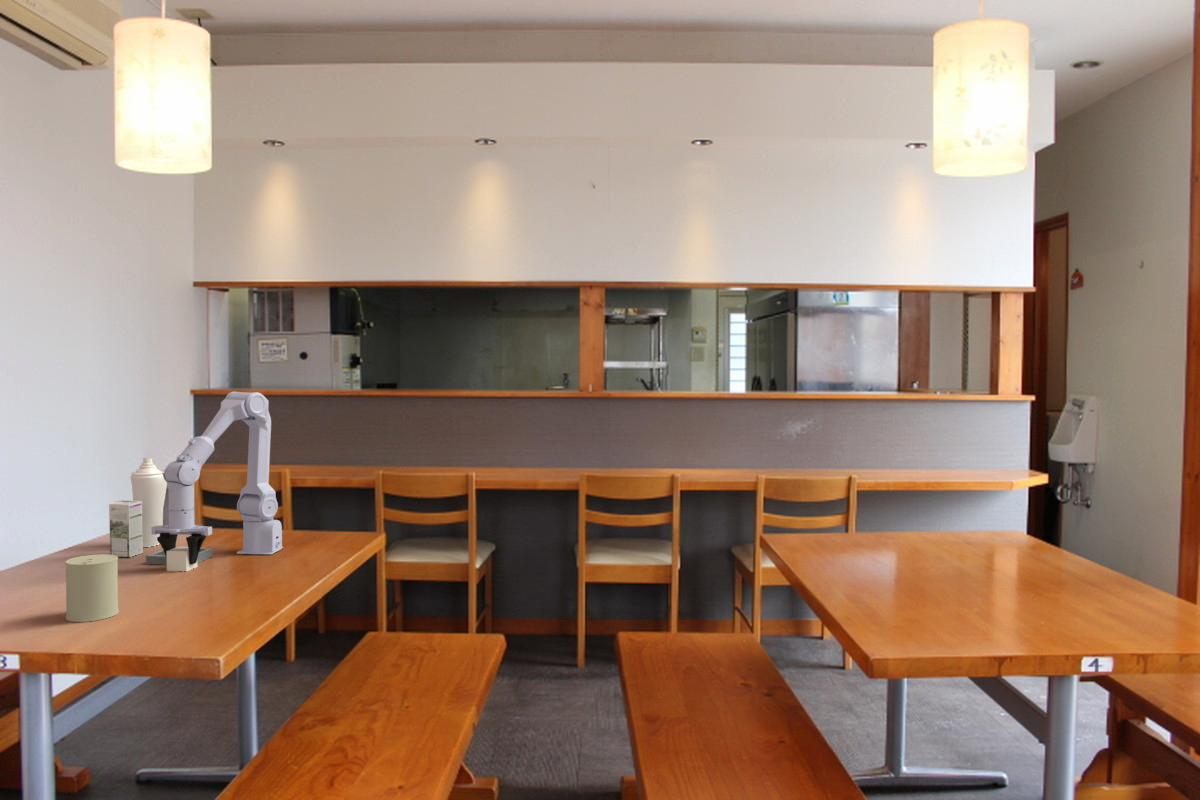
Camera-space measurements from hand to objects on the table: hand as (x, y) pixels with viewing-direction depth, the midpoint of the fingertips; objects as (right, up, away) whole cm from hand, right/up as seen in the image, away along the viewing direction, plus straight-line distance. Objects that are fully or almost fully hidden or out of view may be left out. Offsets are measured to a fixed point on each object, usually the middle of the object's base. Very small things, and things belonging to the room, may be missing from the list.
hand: (182, 563), depth 206 cm
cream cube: (0, -1, 0) cm, 1 cm away
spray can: (-23, 0, +26) cm, 35 cm away
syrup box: (-22, -1, +14) cm, 26 cm away
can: (+1, -3, -39) cm, 39 cm away
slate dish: (-5, -1, +9) cm, 10 cm away
